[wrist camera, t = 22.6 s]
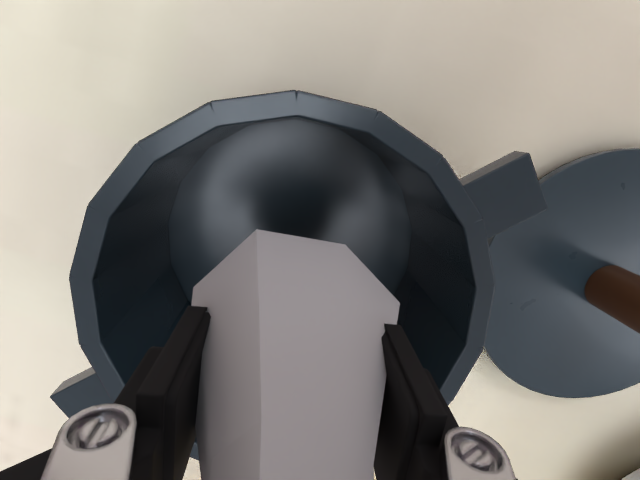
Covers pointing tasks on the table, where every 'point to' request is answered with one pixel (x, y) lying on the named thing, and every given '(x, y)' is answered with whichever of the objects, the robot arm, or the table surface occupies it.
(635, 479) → the cereal bowl
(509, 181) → the pot
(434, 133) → the table surface
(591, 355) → the pot lid
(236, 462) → the flask
